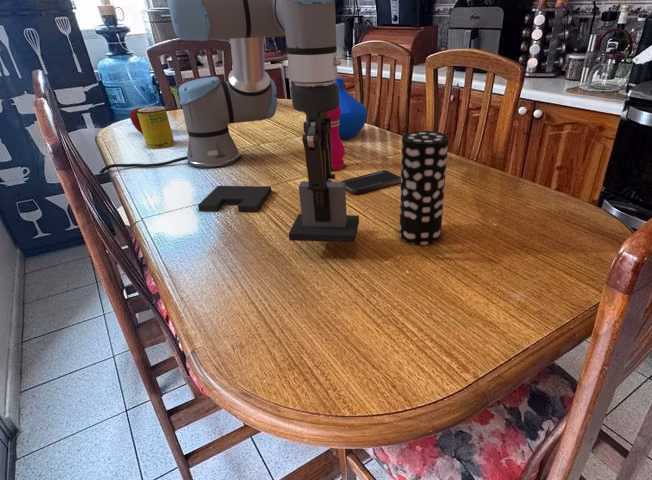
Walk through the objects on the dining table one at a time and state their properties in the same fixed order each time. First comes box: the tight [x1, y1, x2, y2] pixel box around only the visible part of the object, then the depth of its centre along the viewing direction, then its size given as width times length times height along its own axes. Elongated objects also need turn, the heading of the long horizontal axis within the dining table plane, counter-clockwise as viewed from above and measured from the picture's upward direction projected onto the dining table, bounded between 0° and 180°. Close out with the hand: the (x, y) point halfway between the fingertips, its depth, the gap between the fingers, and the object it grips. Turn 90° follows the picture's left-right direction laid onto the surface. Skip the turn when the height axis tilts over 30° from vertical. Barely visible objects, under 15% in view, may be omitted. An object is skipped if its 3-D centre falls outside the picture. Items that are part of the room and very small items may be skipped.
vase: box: [334, 77, 368, 140], centre depth 145 cm, size 18×18×19 cm
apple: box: [129, 106, 146, 135], centre depth 155 cm, size 10×10×10 cm
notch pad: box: [197, 185, 273, 213], centre depth 101 cm, size 14×12×2 cm
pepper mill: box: [327, 106, 346, 172], centre depth 116 cm, size 7×7×20 cm
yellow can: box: [136, 105, 175, 150], centre depth 142 cm, size 9×9×12 cm
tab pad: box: [288, 180, 360, 243], centre depth 78 cm, size 12×12×10 cm
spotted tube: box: [399, 130, 450, 246], centre depth 80 cm, size 8×8×20 cm
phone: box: [340, 169, 401, 195], centre depth 109 cm, size 8×1×15 cm
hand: (324, 216), depth 77 cm, fingers closed on tab pad, 2 cm apart
